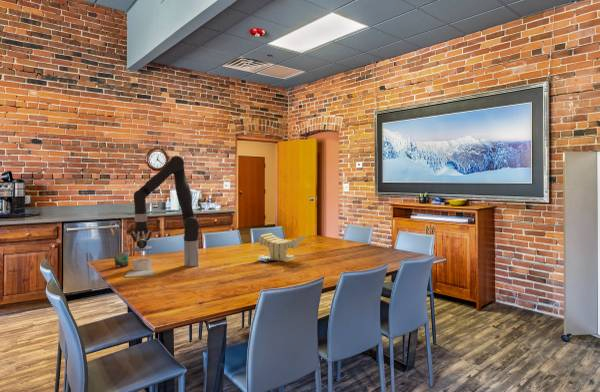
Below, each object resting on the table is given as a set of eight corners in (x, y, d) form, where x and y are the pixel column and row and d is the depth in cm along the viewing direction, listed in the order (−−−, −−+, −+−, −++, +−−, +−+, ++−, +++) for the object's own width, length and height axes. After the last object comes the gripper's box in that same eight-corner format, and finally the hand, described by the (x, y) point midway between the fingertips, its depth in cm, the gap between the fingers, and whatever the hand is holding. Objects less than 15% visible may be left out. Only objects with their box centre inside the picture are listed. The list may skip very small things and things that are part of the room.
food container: (122, 268, 241) (121, 253, 241) (113, 268, 243) (113, 253, 242) (134, 264, 253) (133, 250, 253) (126, 264, 255) (125, 249, 254)
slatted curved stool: (259, 259, 270) (259, 235, 269) (271, 255, 284) (271, 232, 283) (294, 264, 255) (294, 238, 254) (305, 259, 269) (305, 235, 268)
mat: (155, 270, 236) (155, 269, 236) (152, 275, 225) (152, 274, 225) (128, 272, 232) (128, 271, 232) (124, 277, 221) (124, 276, 220)
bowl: (152, 266, 247) (152, 257, 247) (149, 270, 237) (149, 261, 236) (134, 267, 245) (134, 258, 244) (131, 271, 234) (131, 262, 234)
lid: (153, 246, 248) (153, 238, 247) (150, 250, 236) (150, 241, 235) (133, 248, 245) (133, 239, 244) (129, 251, 233) (129, 242, 232)
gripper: (153, 219, 244) (154, 245, 245) (130, 220, 241) (131, 246, 242) (151, 220, 237) (152, 247, 238) (128, 221, 234) (129, 248, 235)
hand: (141, 246), depth 240 cm, fingers closed on lid, 3 cm apart
